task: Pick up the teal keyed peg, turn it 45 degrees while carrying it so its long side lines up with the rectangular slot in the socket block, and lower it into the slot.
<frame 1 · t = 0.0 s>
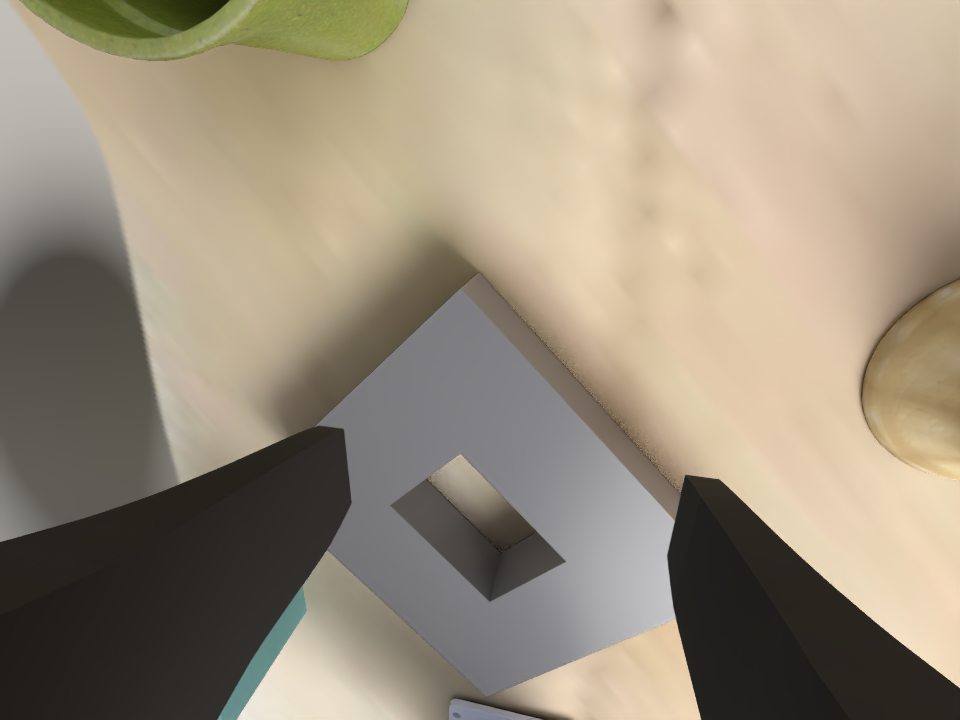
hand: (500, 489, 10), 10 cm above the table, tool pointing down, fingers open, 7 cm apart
keyed socket: (489, 489, 22), on the table
keyed peg: (279, 576, 28), on the table
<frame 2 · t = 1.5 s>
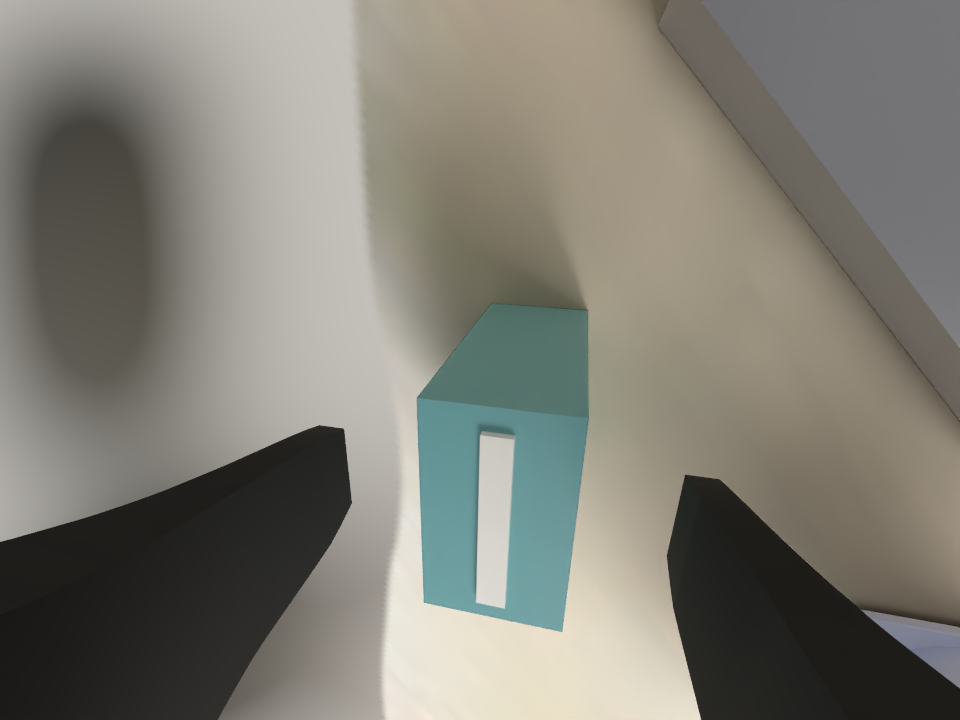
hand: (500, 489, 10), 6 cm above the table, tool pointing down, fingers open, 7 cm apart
keyed peg: (533, 379, 15), on the table
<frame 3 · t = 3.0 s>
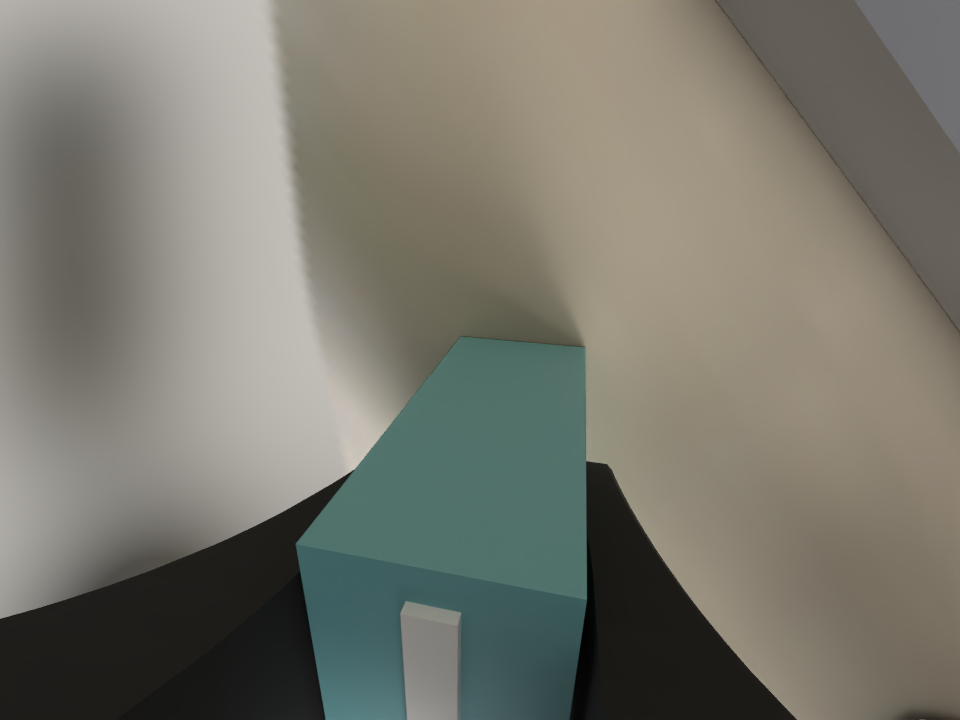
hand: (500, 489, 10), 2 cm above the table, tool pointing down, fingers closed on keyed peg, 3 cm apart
keyed peg: (516, 432, 12), on the table, touching gripper
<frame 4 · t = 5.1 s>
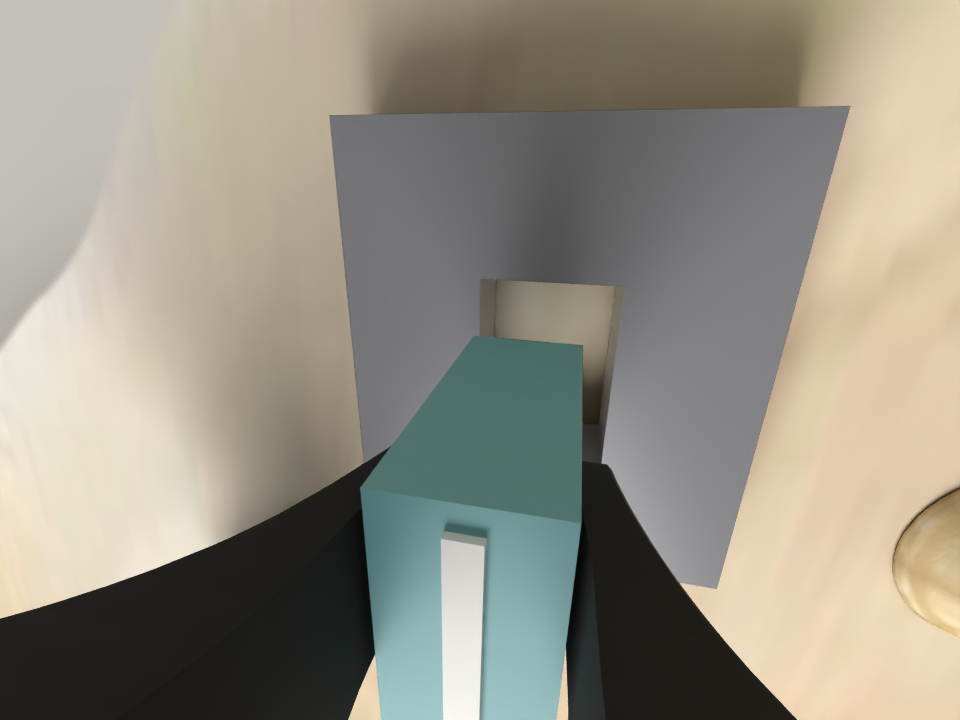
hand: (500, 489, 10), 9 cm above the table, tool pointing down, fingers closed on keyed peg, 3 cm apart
keyed socket: (549, 347, 18), on the table
keyed peg: (521, 421, 13), point 6 cm above the table, touching gripper
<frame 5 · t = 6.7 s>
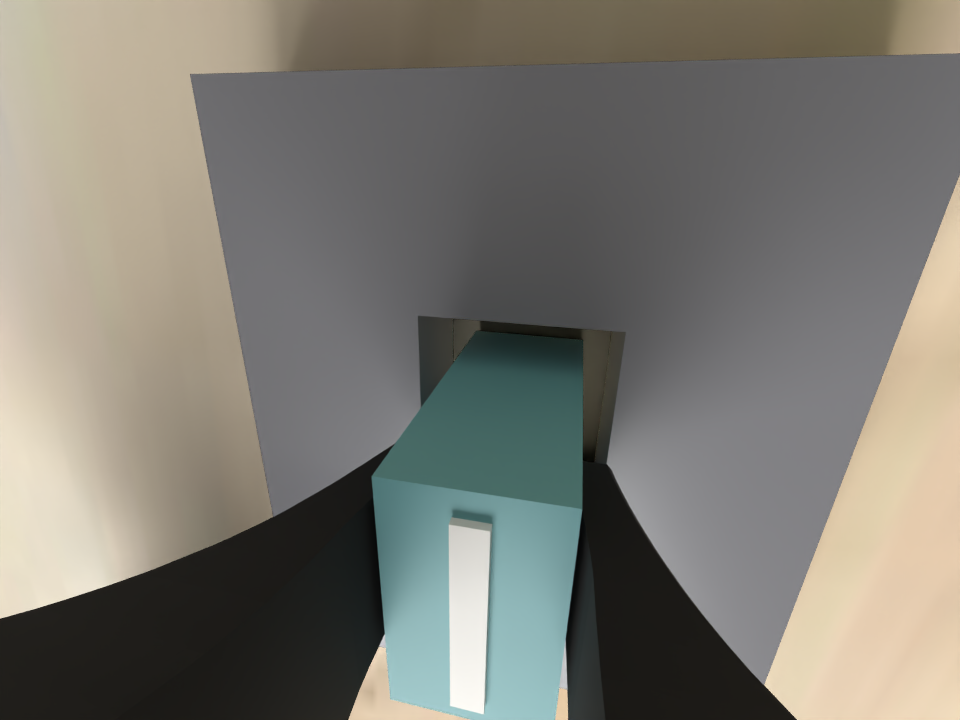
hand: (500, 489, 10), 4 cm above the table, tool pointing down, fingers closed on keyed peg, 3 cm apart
keyed socket: (525, 398, 14), on the table
keyed peg: (523, 414, 14), resting in keyed socket, touching gripper
when the fingers open (4 cm above the table, at t = 7.6 s): keyed peg stays where it is, resting in keyed socket.
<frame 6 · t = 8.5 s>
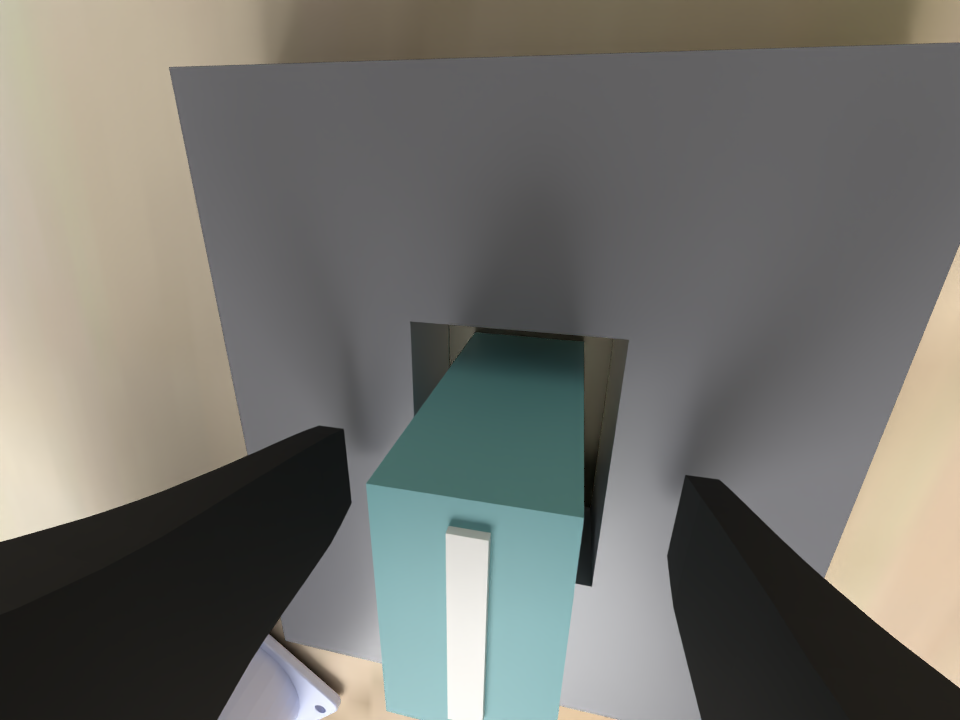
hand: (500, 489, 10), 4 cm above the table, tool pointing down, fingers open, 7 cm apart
keyed socket: (523, 405, 13), on the table
keyed peg: (523, 416, 13), resting in keyed socket
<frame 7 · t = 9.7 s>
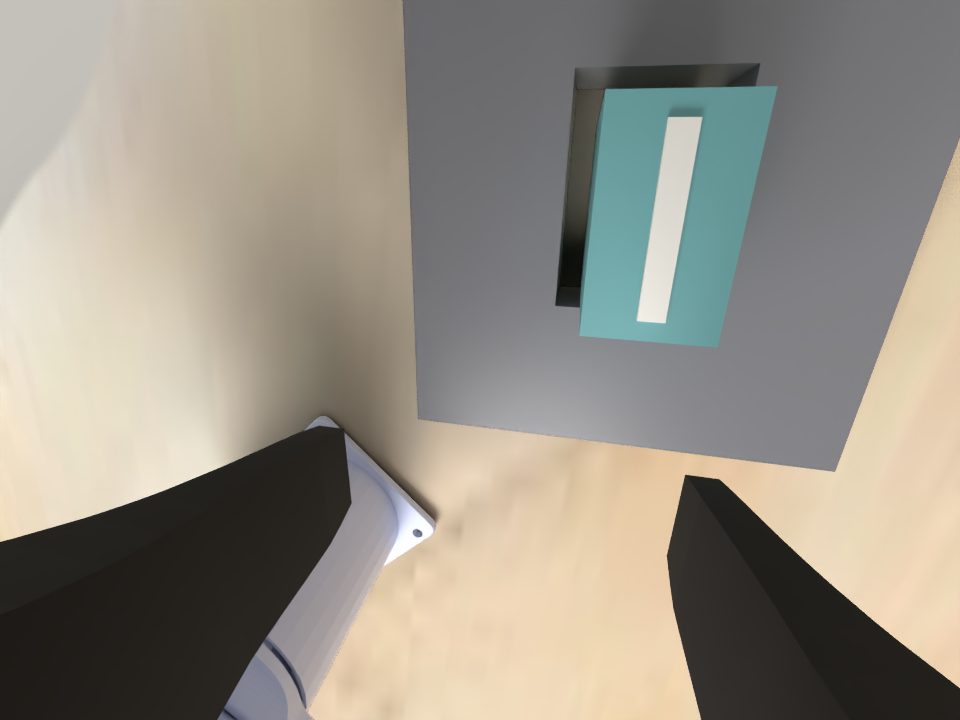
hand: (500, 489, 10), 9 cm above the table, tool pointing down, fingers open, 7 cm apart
keyed socket: (634, 196, 15), on the table
keyed peg: (632, 209, 16), resting in keyed socket
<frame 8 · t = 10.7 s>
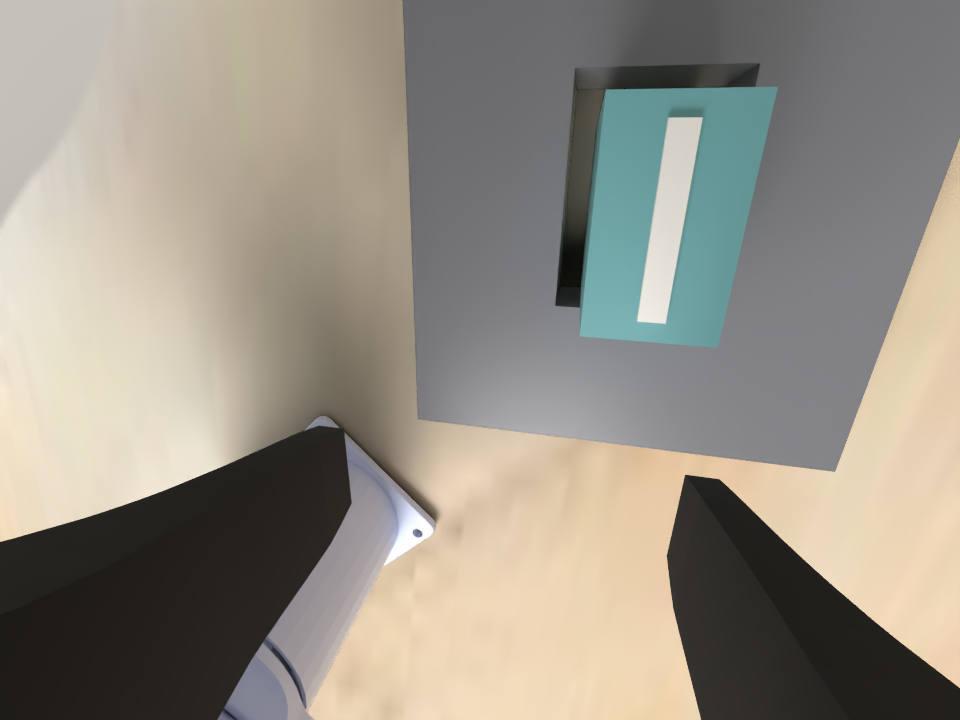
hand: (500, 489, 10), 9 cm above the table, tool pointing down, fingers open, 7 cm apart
keyed socket: (634, 196, 15), on the table
keyed peg: (632, 209, 16), resting in keyed socket
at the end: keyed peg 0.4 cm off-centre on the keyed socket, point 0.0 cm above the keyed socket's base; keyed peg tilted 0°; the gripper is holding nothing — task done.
